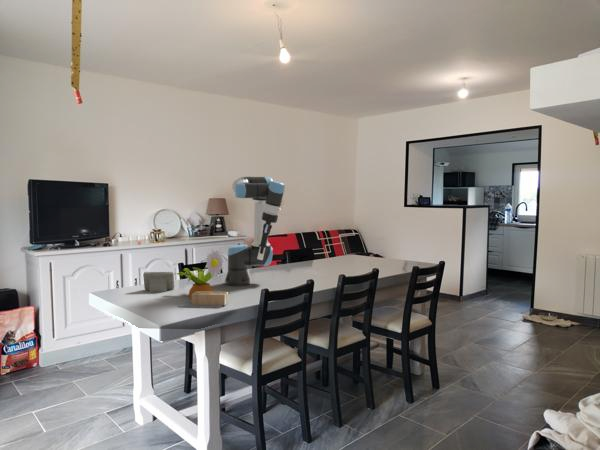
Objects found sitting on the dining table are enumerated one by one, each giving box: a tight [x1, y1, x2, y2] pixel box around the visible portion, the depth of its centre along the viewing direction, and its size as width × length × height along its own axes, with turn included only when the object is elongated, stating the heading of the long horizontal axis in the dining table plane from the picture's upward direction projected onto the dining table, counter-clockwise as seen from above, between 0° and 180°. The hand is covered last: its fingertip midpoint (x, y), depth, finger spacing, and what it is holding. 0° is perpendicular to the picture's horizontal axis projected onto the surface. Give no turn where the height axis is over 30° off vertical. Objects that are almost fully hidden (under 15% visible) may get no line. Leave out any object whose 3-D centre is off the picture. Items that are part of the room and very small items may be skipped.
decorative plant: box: [173, 249, 224, 298], centre depth 227 cm, size 27×24×25 cm
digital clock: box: [142, 271, 175, 293], centre depth 236 cm, size 16×9×11 cm, turn 88°
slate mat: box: [177, 299, 224, 309], centre depth 207 cm, size 13×20×1 cm, turn 89°
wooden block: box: [191, 291, 229, 306], centre depth 208 cm, size 7×5×16 cm
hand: (259, 259), depth 211 cm, fingers closed
